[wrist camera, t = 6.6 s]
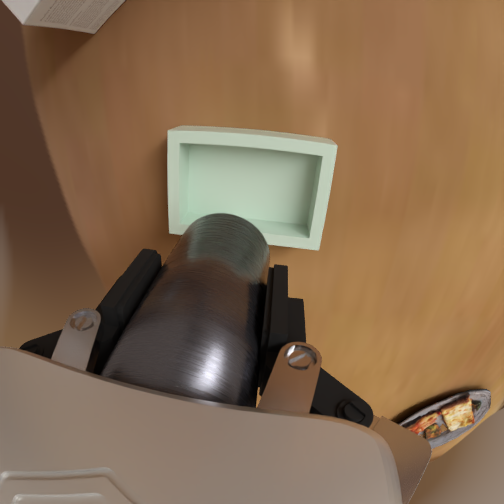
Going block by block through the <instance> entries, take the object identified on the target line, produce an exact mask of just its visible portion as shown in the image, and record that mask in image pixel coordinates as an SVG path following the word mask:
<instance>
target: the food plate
mask: <svg viewBox="0 0 504 504" xmlns="http://www.w3.org/2000/svg"><path fill="white" fill-rule="evenodd" d="M490 393H491V392H490V391H489V390H487V389H476V390H468V391H465V392H461V393H458V394H455V395H453V396H451V397H448V398H446V399H444V400H441V401H439V402H437V403H435V404H433V405H429V406H426V407H425V408H423V409H421V410H419V411H418V412H416V413H414V414H412V415H411V416H409V417H408V418H407V419H406V420H404V421H402V422H401V423H398V425H400V426H402V427H404V428H406V429H408V430H410V431H412V432H414V433H416V434H418V435H419V434H424V433H425V439H426V440H427V441H428V442H429V444H430V445H431V449H432V448H435V447H438V446H441V445H443V444H445V443H447V442H449V441H451V440H453V439H455V438H457V437H459V436H460V435H462V434H463V433H465V432H466V431H468V430H469V429H471V428H472V427H473V426H475V425H476V424H477V423H478V422H479V421H480V420H481V419H482V418H483V417H484V415H485V414H486V413H487V412H488V410H489V409H490V408H489V407H490V404H491V398H490V397H491V396H490V395H491V394H490ZM441 424H444V425H445V427H447V429H448V430H446V431H444V432H442V431H441V428H440V425H441Z"/></svg>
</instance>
